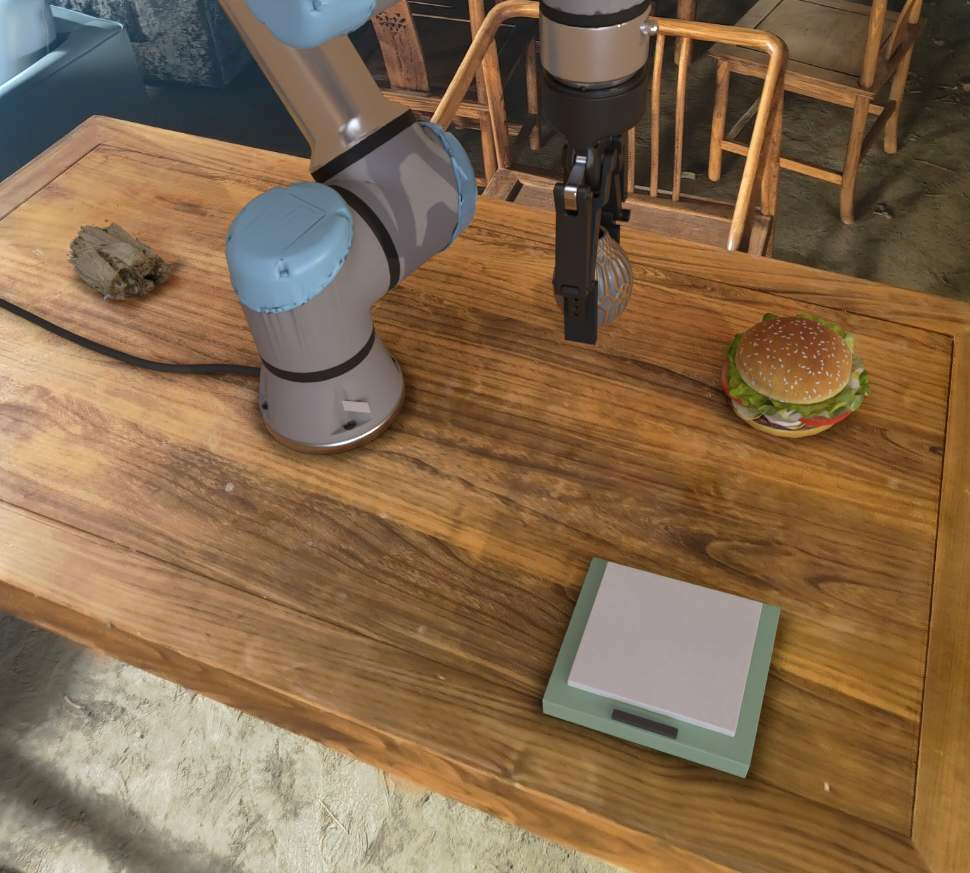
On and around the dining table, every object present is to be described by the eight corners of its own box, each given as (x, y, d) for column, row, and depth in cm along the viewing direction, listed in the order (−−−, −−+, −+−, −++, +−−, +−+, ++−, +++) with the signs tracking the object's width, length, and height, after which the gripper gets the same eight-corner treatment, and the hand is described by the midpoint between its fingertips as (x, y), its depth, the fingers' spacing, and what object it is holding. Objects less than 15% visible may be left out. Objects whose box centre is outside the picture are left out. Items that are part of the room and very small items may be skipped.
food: (854, 463, 88) (874, 407, 82) (705, 431, 92) (715, 375, 86) (868, 365, 96) (888, 307, 90) (731, 339, 100) (742, 282, 94)
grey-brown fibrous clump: (190, 278, 114) (176, 243, 110) (123, 320, 110) (106, 284, 106) (126, 234, 121) (110, 199, 117) (61, 271, 117) (43, 237, 113)
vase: (628, 341, 80) (632, 260, 73) (549, 337, 81) (545, 256, 74) (634, 289, 84) (638, 208, 78) (558, 286, 85) (556, 205, 79)
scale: (542, 713, 74) (541, 695, 72) (592, 571, 82) (593, 550, 80) (745, 778, 70) (751, 761, 67) (776, 621, 78) (783, 601, 75)
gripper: (612, 146, 58) (605, 397, 75) (676, 4, 70) (657, 249, 87) (499, 133, 60) (517, 380, 77) (580, -3, 72) (580, 238, 89)
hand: (592, 310), depth 82 cm, fingers closed on vase, 7 cm apart
